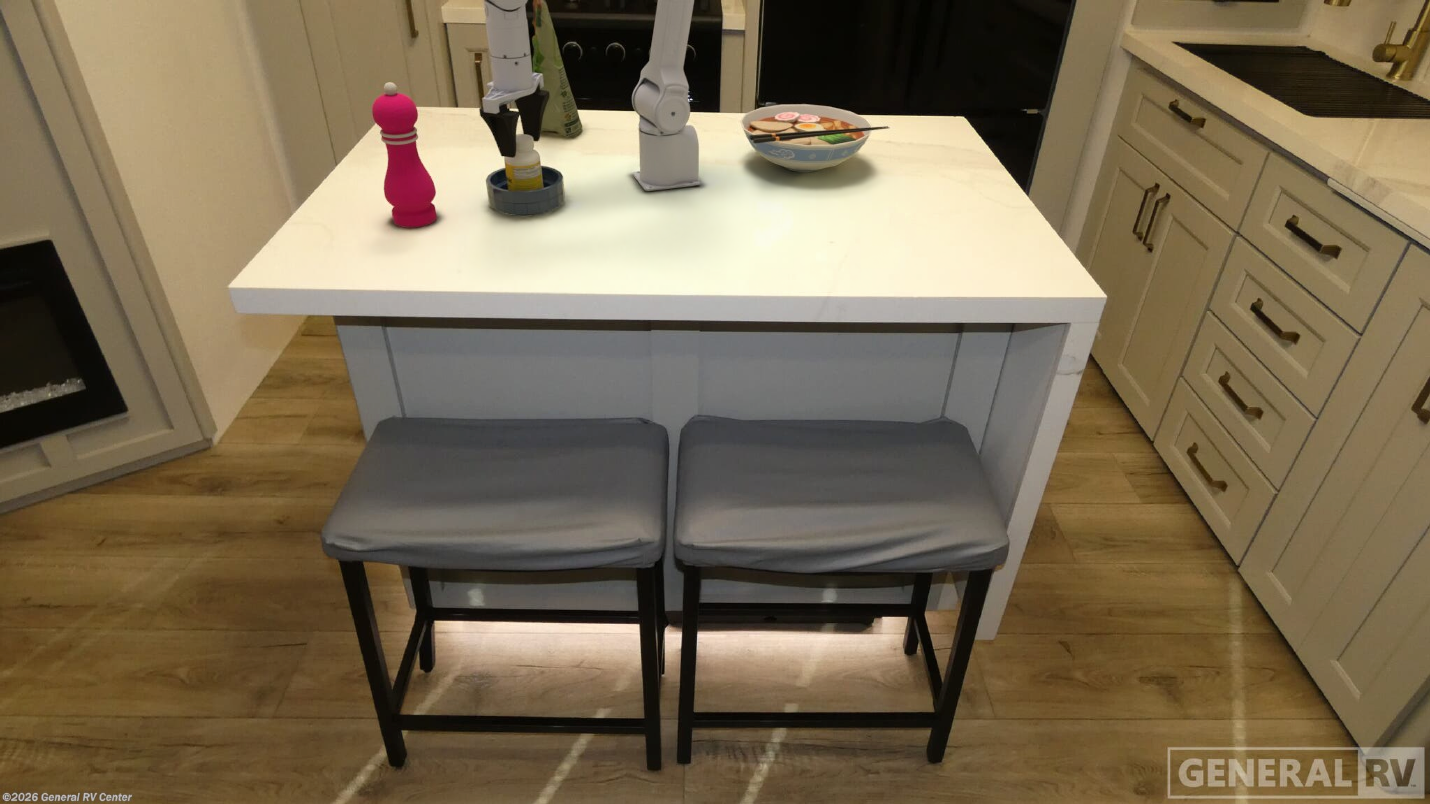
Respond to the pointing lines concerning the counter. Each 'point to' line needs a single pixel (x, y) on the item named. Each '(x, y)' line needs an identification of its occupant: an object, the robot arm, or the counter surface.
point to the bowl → (525, 194)
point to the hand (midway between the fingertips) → (520, 147)
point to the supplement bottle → (524, 166)
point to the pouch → (553, 76)
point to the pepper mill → (404, 160)
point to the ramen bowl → (806, 135)
